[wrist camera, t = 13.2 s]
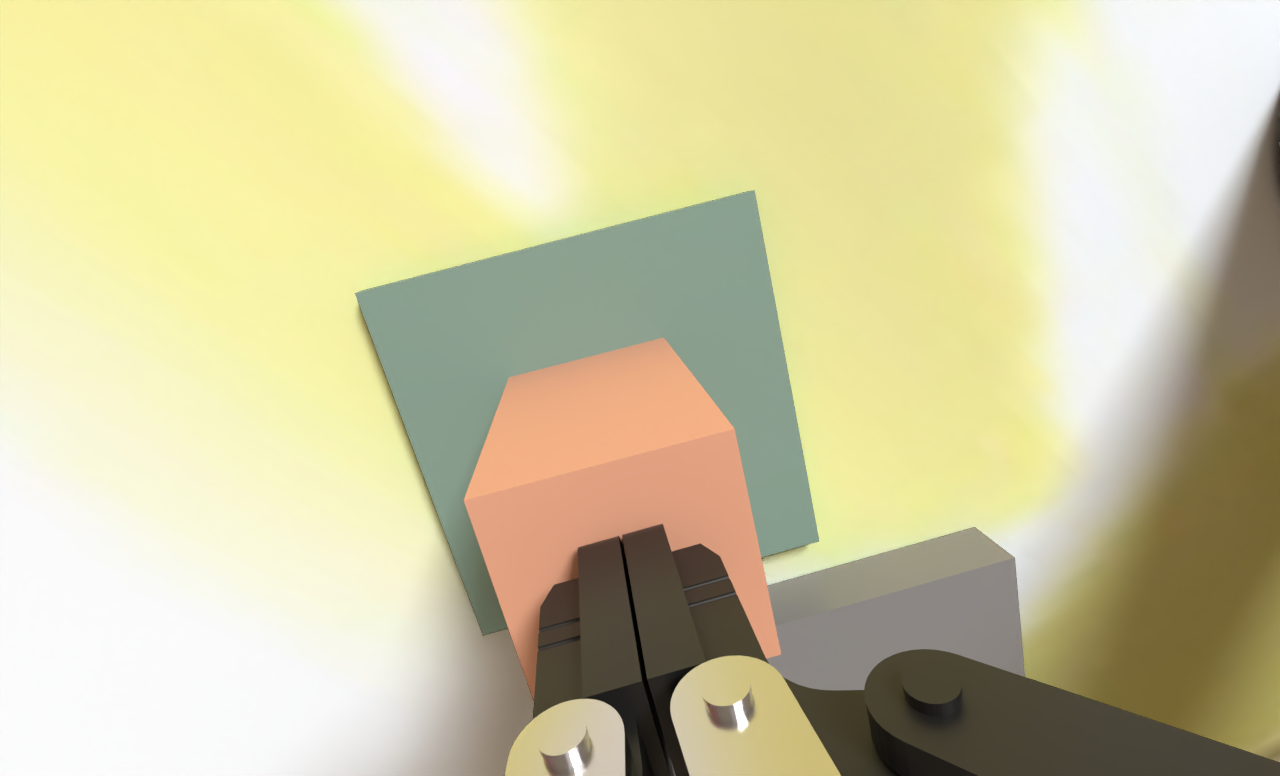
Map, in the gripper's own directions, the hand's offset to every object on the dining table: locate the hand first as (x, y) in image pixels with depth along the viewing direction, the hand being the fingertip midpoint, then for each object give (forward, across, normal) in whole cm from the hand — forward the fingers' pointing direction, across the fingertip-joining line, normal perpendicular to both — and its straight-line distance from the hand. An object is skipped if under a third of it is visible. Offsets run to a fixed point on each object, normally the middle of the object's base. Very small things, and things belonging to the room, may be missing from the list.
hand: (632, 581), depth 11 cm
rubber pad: (+9, 0, 0) cm, 9 cm away
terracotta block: (+8, 0, 0) cm, 8 cm away
